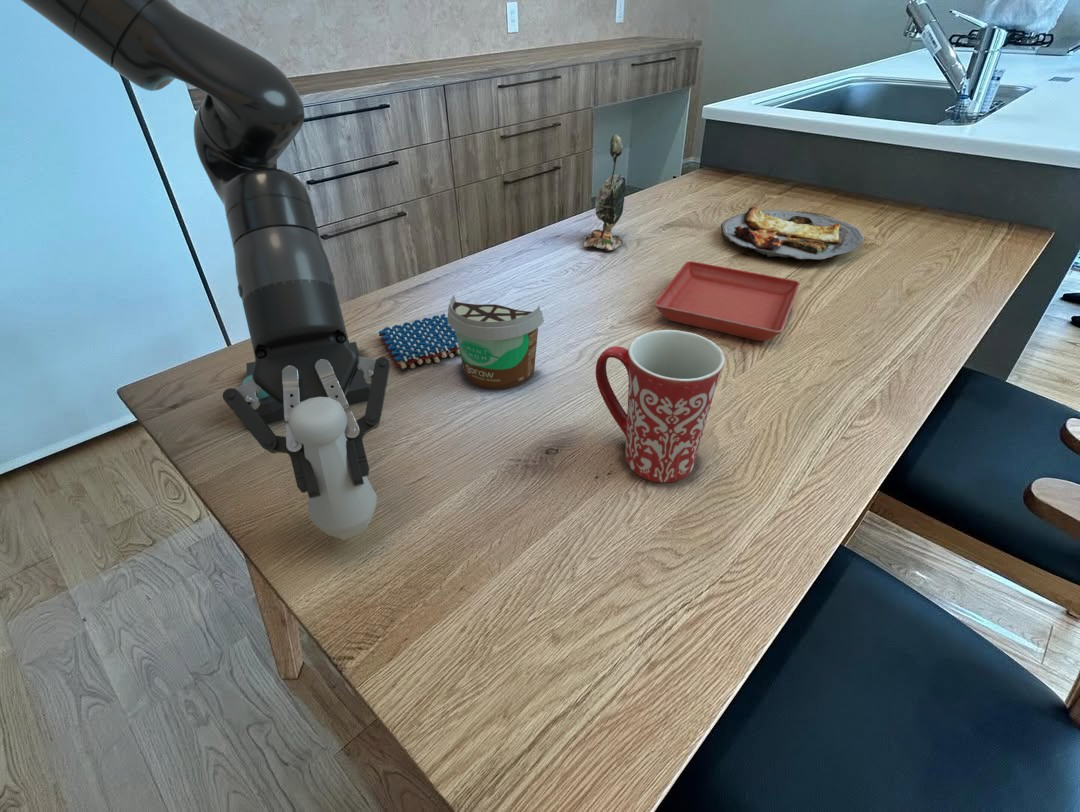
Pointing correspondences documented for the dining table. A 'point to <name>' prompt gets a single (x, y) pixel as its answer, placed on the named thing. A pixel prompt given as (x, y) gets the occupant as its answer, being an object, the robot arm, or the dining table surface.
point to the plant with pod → (609, 205)
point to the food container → (495, 343)
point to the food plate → (791, 233)
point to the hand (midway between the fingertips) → (337, 489)
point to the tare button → (261, 393)
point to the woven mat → (420, 341)
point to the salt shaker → (331, 469)
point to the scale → (275, 411)
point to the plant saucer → (728, 300)
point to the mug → (663, 399)
